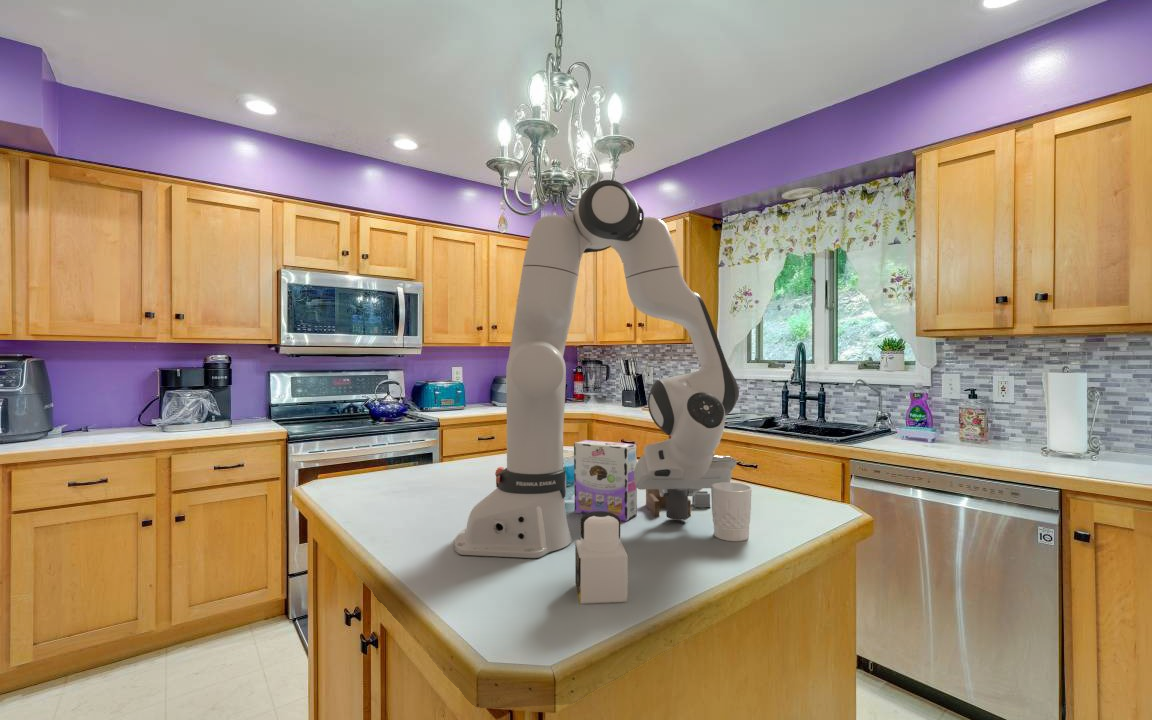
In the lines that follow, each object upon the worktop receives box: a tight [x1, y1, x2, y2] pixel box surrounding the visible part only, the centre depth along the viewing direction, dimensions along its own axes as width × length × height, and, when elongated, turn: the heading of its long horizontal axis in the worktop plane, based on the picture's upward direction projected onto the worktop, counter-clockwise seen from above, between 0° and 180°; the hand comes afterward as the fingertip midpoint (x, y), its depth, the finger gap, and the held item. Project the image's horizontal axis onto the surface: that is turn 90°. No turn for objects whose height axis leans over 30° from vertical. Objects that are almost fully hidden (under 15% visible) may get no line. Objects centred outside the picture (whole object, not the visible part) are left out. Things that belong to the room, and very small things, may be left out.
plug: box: [666, 489, 689, 521], centre depth 117 cm, size 5×5×9 cm
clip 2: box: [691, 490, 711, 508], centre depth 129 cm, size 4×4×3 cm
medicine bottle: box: [574, 511, 628, 605], centre depth 81 cm, size 7×7×12 cm
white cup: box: [710, 481, 753, 542], centre depth 107 cm, size 8×8×10 cm
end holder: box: [645, 489, 692, 518], centre depth 126 cm, size 8×10×5 cm
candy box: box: [573, 439, 638, 522], centre depth 123 cm, size 14×6×16 cm, turn 58°
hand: (676, 493), depth 118 cm, fingers closed on plug, 5 cm apart
